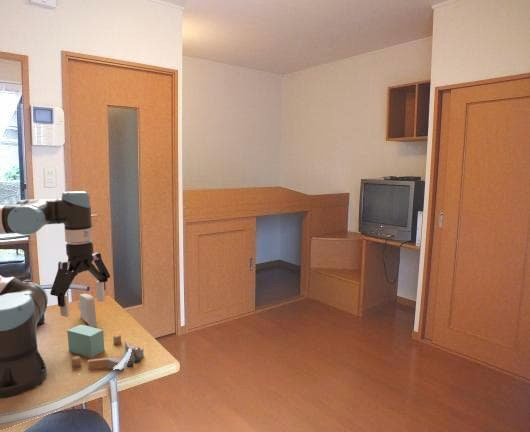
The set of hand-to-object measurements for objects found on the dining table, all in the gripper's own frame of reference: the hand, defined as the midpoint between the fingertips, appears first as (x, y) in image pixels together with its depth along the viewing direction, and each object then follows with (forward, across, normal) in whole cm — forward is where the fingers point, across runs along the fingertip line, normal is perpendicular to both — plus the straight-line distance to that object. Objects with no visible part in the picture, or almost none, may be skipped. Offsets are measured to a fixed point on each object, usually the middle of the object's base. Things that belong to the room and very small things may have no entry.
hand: (84, 308), depth 123 cm
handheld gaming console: (+14, +17, +19) cm, 29 cm away
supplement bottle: (+14, +7, +35) cm, 38 cm away
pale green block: (+14, 0, 0) cm, 14 cm away
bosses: (+14, 0, -19) cm, 24 cm away
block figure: (+14, 0, -11) cm, 18 cm away
